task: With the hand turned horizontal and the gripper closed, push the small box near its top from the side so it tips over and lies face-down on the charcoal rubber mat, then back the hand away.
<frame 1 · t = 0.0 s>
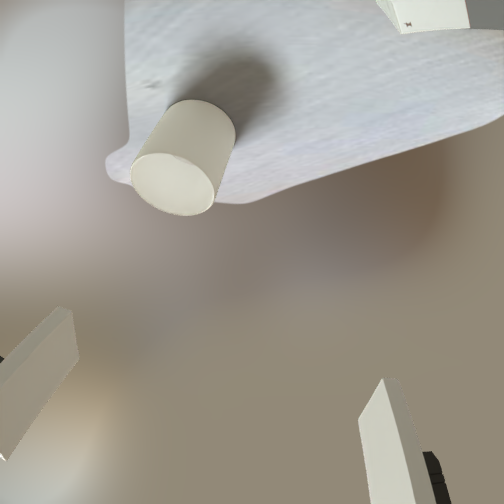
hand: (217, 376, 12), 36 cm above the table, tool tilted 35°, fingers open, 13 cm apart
white cylinder: (198, 130, 46), on the table
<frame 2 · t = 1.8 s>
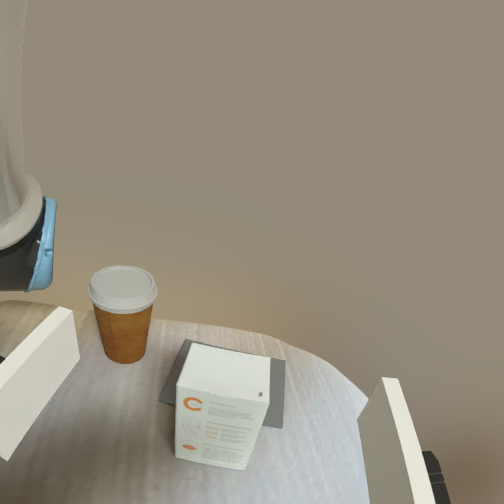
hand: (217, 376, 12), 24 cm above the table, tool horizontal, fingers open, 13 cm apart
rubber mat: (228, 381, 43), on the table
small box: (213, 445, 33), on the table
disposable coffee cup: (124, 350, 44), on the table
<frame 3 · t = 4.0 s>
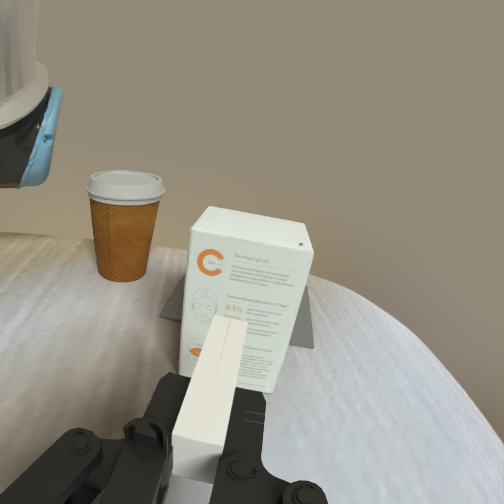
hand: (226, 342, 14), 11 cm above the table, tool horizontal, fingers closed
rubber mat: (243, 301, 38), on the table
small box: (228, 364, 28), on the table
disposable coffee cup: (121, 271, 39), on the table
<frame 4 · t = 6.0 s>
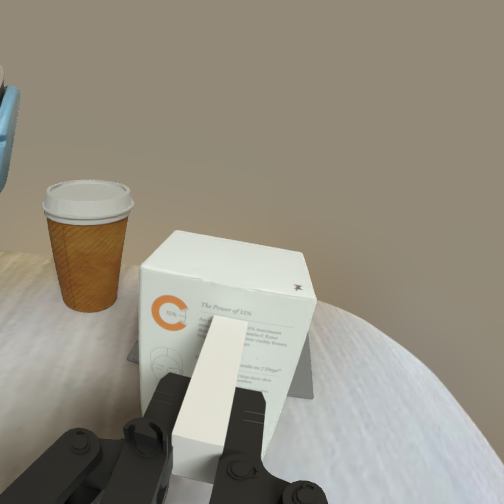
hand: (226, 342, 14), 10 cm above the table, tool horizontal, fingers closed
rubber mat: (229, 336, 31), on the table
small box: (207, 424, 21), on the table, touching gripper
disposable coffee cup: (89, 298, 33), on the table
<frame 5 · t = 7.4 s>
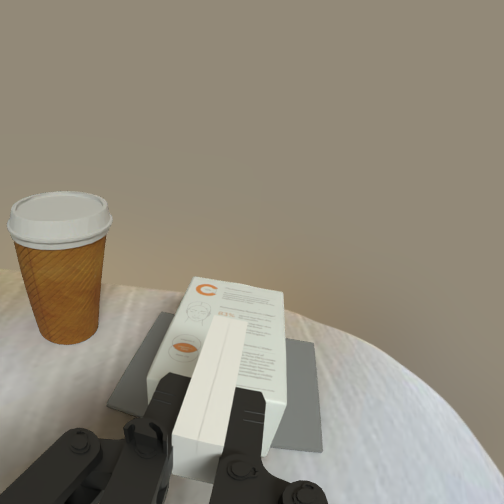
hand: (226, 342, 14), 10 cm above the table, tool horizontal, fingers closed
rubber mat: (226, 375, 26), on the table
small box: (209, 428, 17), point 3 cm above the table, touching rubber mat
disposable coffee cup: (68, 326, 27), on the table
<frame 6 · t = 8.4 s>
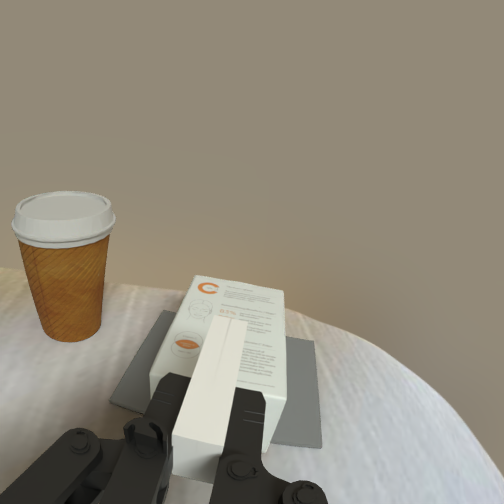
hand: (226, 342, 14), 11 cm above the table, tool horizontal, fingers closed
rubber mat: (227, 372, 27), on the table
small box: (211, 424, 18), point 3 cm above the table, touching rubber mat
disposable coffee cup: (71, 324, 28), on the table
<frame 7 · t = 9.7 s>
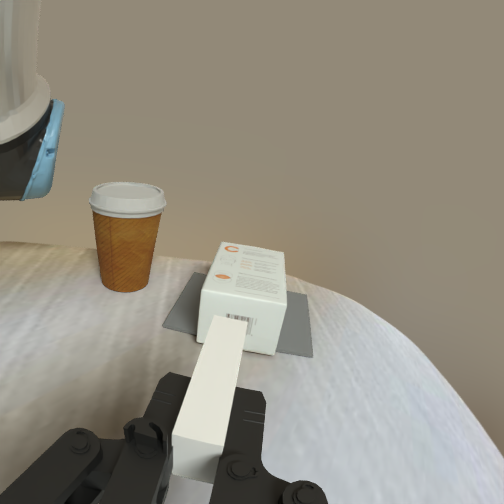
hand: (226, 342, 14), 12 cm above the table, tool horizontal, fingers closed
rubber mat: (244, 310, 39), on the table
small box: (238, 327, 30), point 3 cm above the table, touching rubber mat
disposable coffee cup: (124, 281, 40), on the table
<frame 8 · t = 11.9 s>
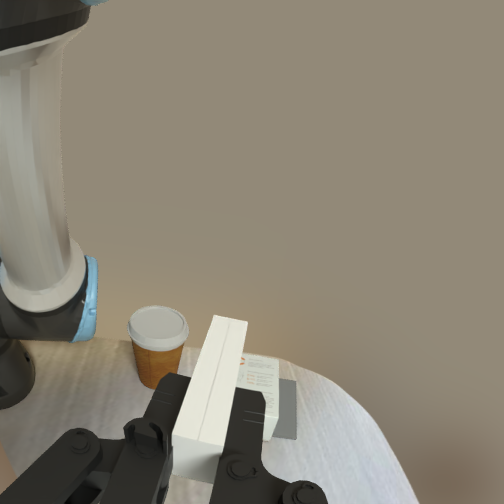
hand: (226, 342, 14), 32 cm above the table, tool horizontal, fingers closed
rubber mat: (249, 401, 50), on the table
small box: (246, 428, 41), point 3 cm above the table, touching rubber mat
disposable coffee cup: (157, 377, 51), on the table
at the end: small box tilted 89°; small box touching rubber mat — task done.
